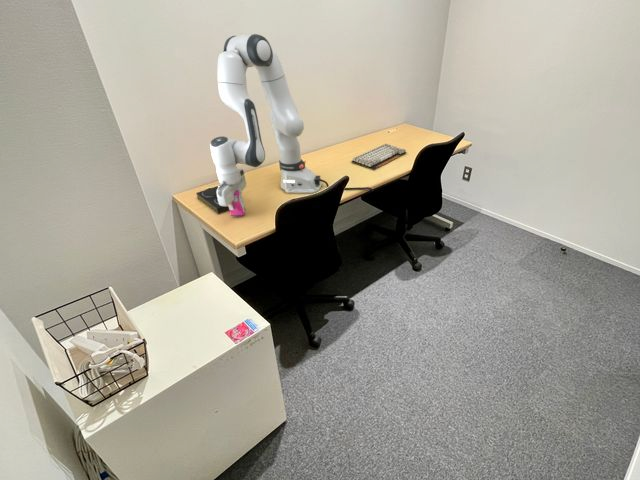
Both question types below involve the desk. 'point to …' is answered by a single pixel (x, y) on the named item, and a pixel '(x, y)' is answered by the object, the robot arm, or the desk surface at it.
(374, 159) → the mechanical keyboard
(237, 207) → the supplement box
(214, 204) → the hot plate
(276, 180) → the desk surface
